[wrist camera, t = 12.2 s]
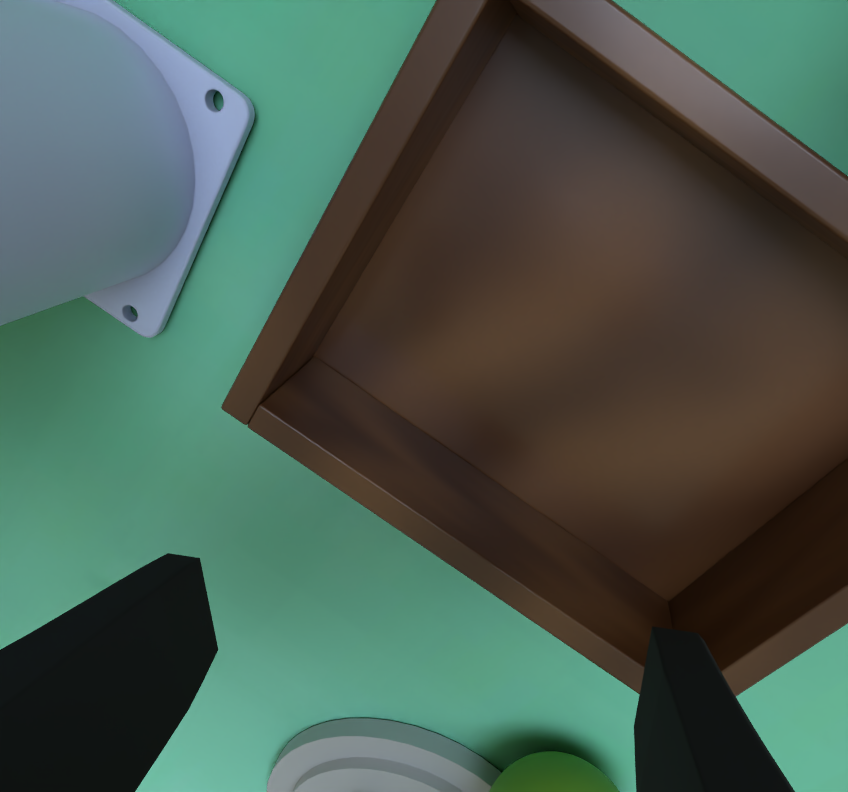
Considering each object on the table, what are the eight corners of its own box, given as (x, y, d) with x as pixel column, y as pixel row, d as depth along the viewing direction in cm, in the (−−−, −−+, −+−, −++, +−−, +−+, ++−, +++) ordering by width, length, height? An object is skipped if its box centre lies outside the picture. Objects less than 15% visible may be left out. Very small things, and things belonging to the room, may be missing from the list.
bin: (288, 353, 19) (218, 408, 15) (511, -39, 14) (485, -96, 10) (668, 615, 20) (688, 728, 16) (1020, 339, 14) (1168, 414, 11)
